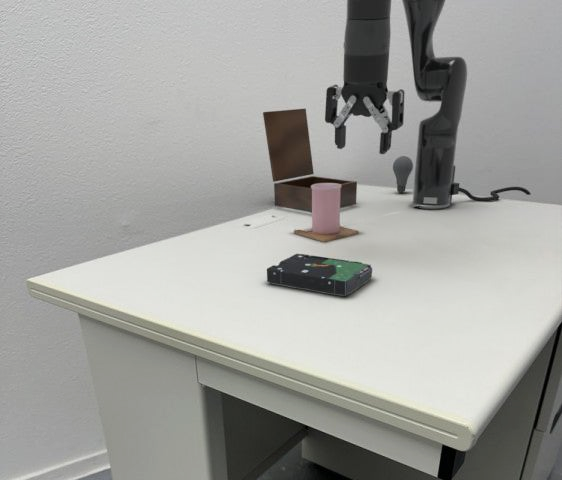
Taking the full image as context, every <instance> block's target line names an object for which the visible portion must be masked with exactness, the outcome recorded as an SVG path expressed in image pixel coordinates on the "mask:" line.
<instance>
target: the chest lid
mask: <svg viewBox="0 0 562 480" xmlns="http://www.w3.org/2000/svg"><path fill="white" fill-rule="evenodd" d="M262 116H263V117H262V118H263V123H264V129H265V136H266V144H267V150H268V156H269V157H268V158H269V164H270V170H271V179H272V182H273V183H276V182H281V181H286V180H292V179H297V178H302V177H307V176H313V175H314V173H315V172H314V166H313V157H312V156H313V155H312V150H311V141H310V133H309V125H308V116H307V108H297V109H296V108H295V109H284V110H272V111H263V112H262Z"/></svg>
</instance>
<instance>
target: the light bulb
mask: <svg viewBox="0 0 562 480" xmlns="http://www.w3.org/2000/svg"><path fill="white" fill-rule="evenodd" d="M413 169H414V163H413V161H412V159H411V158H410V157H409V156H406V155H401V156H399V157H397V158H396V159H395V160H394V161H393V164H392V171H393V174H394V176H395V180H396V191H397V192H398V193H399V194H403V193H405V192H406V189H407V188H406V187H407V183H408V179H409V177H410V175H411V173H412V172H413Z"/></svg>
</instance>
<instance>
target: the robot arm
mask: <svg viewBox="0 0 562 480" xmlns="http://www.w3.org/2000/svg"><path fill="white" fill-rule="evenodd" d="M401 1H402V7H403V10H404V17H405V20H406V26H407V32H408V37H409V44H410V55H411V63H412V74H413V83H414V89H415V92H416V95H417V97H418V98H419V100H421V101H423V102H427V103H440V106H439V109H438V110H437V112H436V113H434V114H433V115H431V116H428V117H426V118H424V119H422V120H420V121H419V123H418V131H417V132H418V134H417V145H416V155H415V168H414V180H413V190H412V191H413V194H412V201H411V203H412V205H414V207H415V208H417V209H425V210H438V209H445V208H448V207H450V205H452V202H453V201H452V200H453V196H455V195H459V192H460V193H462V194H464V195H466V197H467V198H468V199H470V200H472V201H476V202H491V201H496V200H499V198H500V195H499V194H500V193H505V192H508V191H509V192H510V191H511V192H512V191H519V192H523V193H524V194H525V195H528V196H530V195H531V194H532V193H531V192H530V191H529V190H528V189H527V188H525V187H522V186H507V187H502V188H499V189H494V190H491V191H490V193H489V194H490V196H488V197H487V196H486V197H485V196H484V197H483V196H482V197H481V196H475V195H473V194H471V192H470V191H469V190H467V189H465V188H463V187H460V182H455V175H456V165H455V158H456V148H457V140H458V132H459V125H460V122H461V119H462V111H463V106H464V100H465V99H464V98H465V94H466V89H467V88H466V87H467V81H468V65H467V62H466V60H465V58H463V57H461V56H439V57H438V56H437V57H436V55H435V52H434V51H435V50H434V44H433V43H434V41H433V39H434V32H435V29H436V26H437V24H438V21H439V19H440V17H441V14H442V11H443V9H444V6H445V4H446V0H401ZM391 11H392V0H346V19H345V29H344V36H343V38H344V39H343V40H344V41H343V79H342V80H343V86H339V85H338V84H333V85H330V86H329V87H327V88H326V91H325V92H326V93H325V95H326V96H325V112H324V121H325V123H327V124H331V125H333V127H334V144H335V146H336V148H337V149H338V150H342V149H344V148H345V147H346V145H347V144H346V140H347V125H345V123H347V121H348V119H349V118H350V117H351V116H356V117H358V116H363V117H366V118H370V117H372V119H373V121H374V122H375V123H377V125H378V126H379V128H380V130H381V132H380V136H379V137H380V138H379V140H380V141H379V151H378V153H379V155H385V154H387V152H388V151H389V150H390V149H391V147H392V134H393V131H398V129H400V128H401V127H403V125H404V116H405V90H404V89H400V88H399V89H398V90H389V89H388V85H387V84H388V76H389V61H390V48H391V33H392V32H391ZM341 97H342V100H343V101H344V103H345V105H344V106H343V107H342V109H341V110H340V112H339V113H338V103H339V99H340V98H341ZM387 100H388V101H389V105H390V106H391V118H390V116H389V111H388V109H387V108H386V106H385V102H386V101H387Z"/></svg>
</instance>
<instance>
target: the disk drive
mask: <svg viewBox="0 0 562 480" xmlns="http://www.w3.org/2000/svg"><path fill="white" fill-rule="evenodd" d="M372 277H373V267H372V264H369V263H363V262H361V261H352V260H345V259H339V258H332V257H325V256H318V255H311V254H305V253H295V254H293V255H292V256H289V257H287V258H285V259H283V260H281V261H280V262H279V263H278V265H271V266H269V267H267V268H266V281H267V283H271V284H273V285H278V286H284V287H290V288H294V289H300V290H307V291H313V292H317V293H323V294H326V295H327V294H328V295H335V296H341V297H342V296H344V297H347V296H348V295H350V294H351V293H353V292H355V291H356V290H357V289H358V288H360V287H361V286H363V285H364V284H366V283H367V282H368V281H370V279H371V278H372Z"/></svg>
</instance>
